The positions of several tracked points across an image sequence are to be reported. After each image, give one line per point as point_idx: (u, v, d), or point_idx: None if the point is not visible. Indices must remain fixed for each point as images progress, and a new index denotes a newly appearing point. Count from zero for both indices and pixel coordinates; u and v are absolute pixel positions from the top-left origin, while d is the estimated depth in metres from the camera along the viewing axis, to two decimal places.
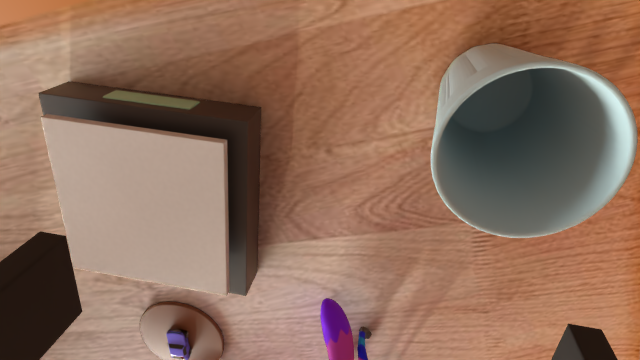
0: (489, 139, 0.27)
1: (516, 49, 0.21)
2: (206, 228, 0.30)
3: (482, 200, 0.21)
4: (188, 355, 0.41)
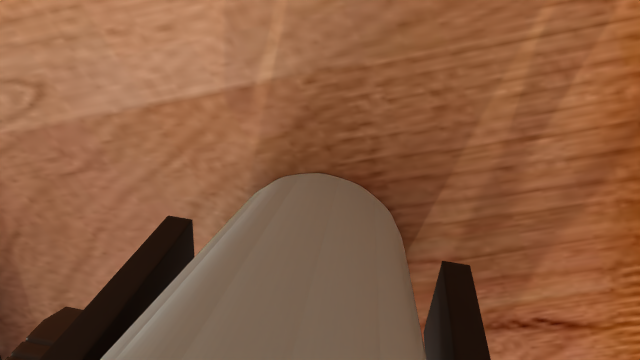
0: None
1: (282, 252, 0.09)
2: None
3: None
4: None
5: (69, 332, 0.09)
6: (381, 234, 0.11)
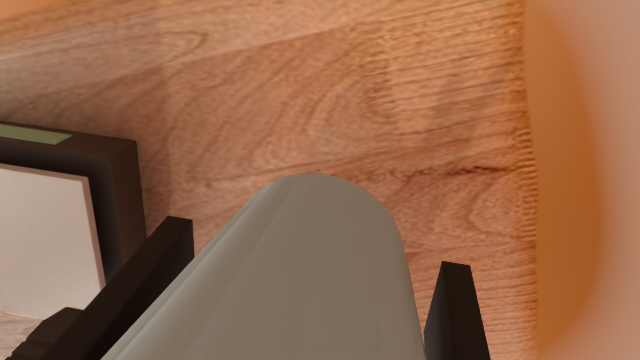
0: None
1: (282, 251, 0.09)
2: (77, 265, 0.29)
3: None
4: None
5: (69, 332, 0.09)
6: (380, 233, 0.11)
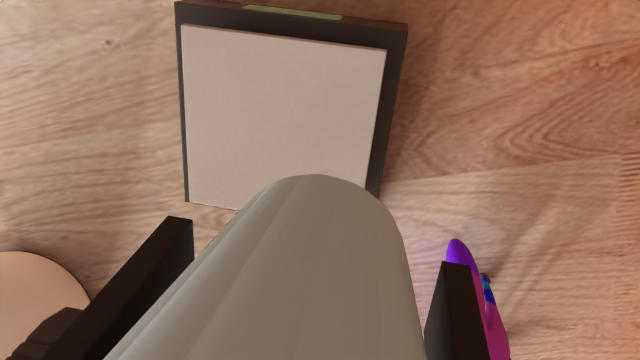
0: None
1: (283, 253, 0.09)
2: (348, 152, 0.28)
3: None
4: None
5: (69, 332, 0.09)
6: (381, 235, 0.11)
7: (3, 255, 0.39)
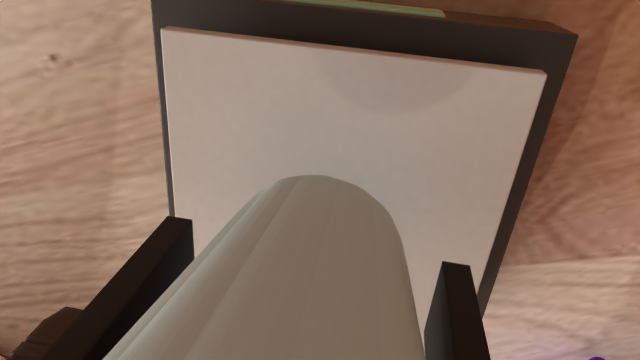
0: None
1: (282, 254, 0.09)
2: (453, 245, 0.16)
3: None
4: None
5: (69, 332, 0.09)
6: (380, 235, 0.11)
7: None
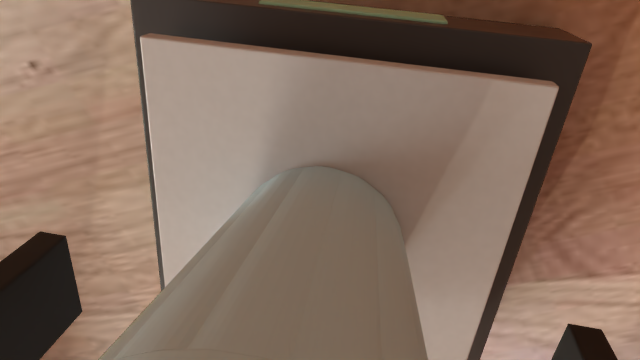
0: None
1: (289, 236, 0.10)
2: (456, 267, 0.15)
3: None
4: None
5: None
6: (381, 222, 0.12)
7: None
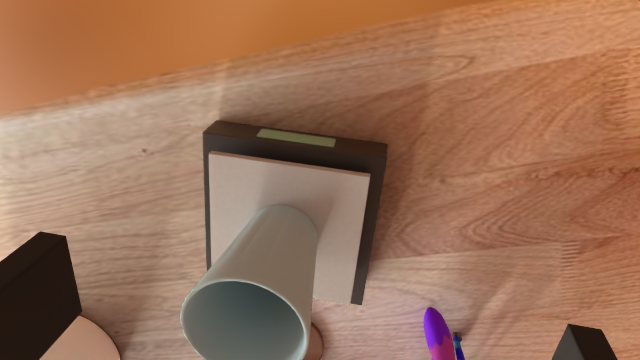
0: None
1: (266, 232, 0.29)
2: (341, 247, 0.35)
3: (241, 343, 0.29)
4: None
5: None
6: (303, 228, 0.32)
7: None
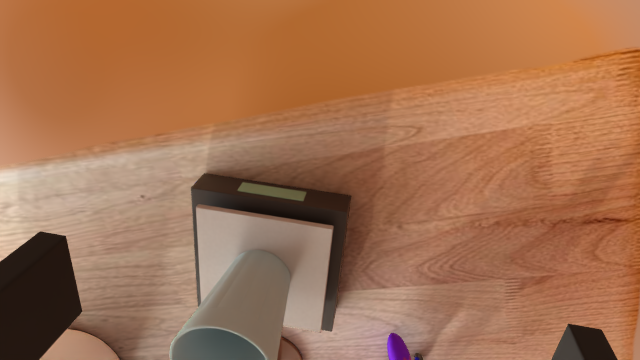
0: None
1: (242, 280, 0.35)
2: (311, 285, 0.40)
3: None
4: None
5: None
6: (275, 272, 0.37)
7: None
